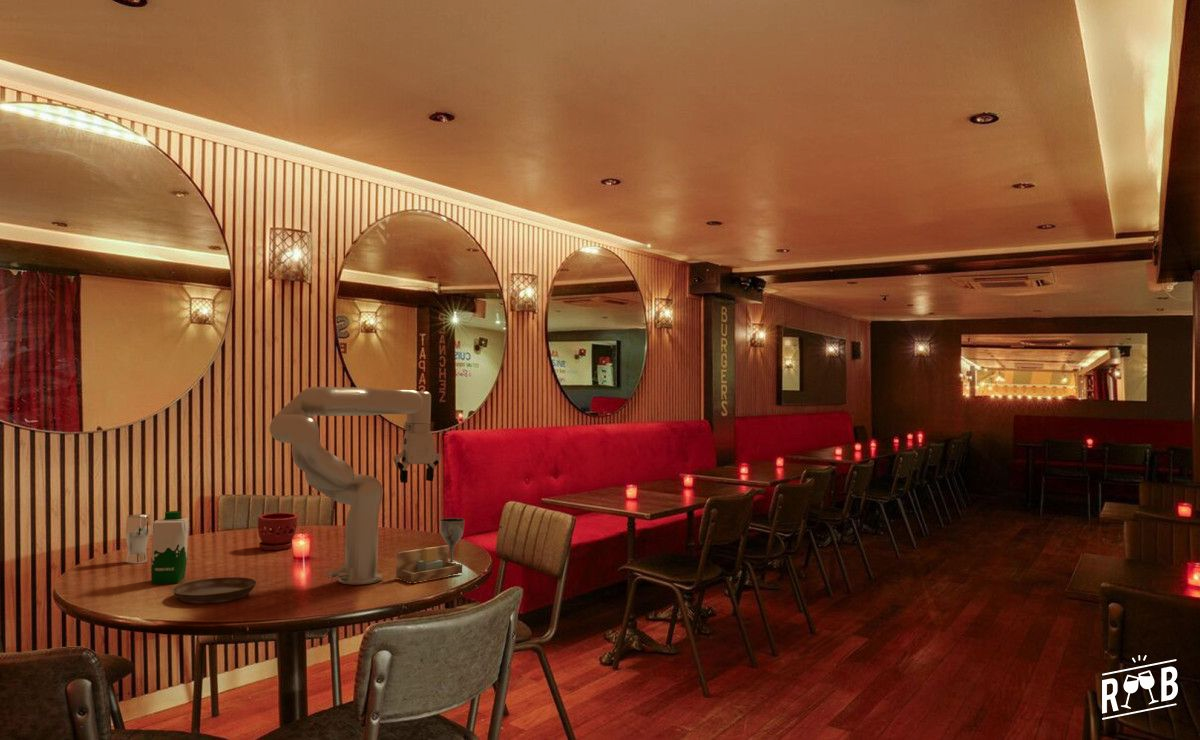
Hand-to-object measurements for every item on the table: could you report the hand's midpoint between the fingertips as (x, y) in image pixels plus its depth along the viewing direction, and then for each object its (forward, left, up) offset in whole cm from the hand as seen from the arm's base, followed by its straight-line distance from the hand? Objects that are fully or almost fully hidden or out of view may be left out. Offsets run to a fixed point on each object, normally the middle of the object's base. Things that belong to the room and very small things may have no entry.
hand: (416, 481), depth 243 cm
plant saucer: (-58, +8, -29) cm, 65 cm away
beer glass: (-61, +69, -28) cm, 96 cm away
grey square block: (-2, -12, -28) cm, 31 cm away
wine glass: (+13, -2, -28) cm, 31 cm away
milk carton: (-62, +34, -28) cm, 76 cm away
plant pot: (-18, +62, -29) cm, 71 cm away
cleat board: (-2, -12, -28) cm, 31 cm away
